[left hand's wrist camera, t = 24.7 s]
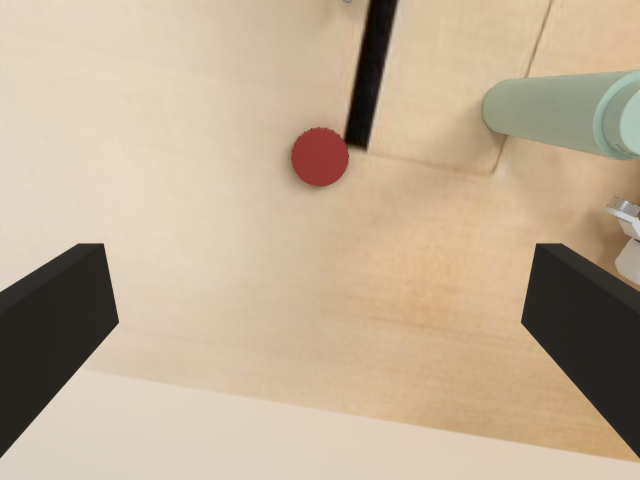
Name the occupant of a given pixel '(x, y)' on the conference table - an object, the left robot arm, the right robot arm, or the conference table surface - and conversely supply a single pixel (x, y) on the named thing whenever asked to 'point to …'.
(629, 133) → the green bottle
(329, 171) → the lid
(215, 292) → the conference table surface
